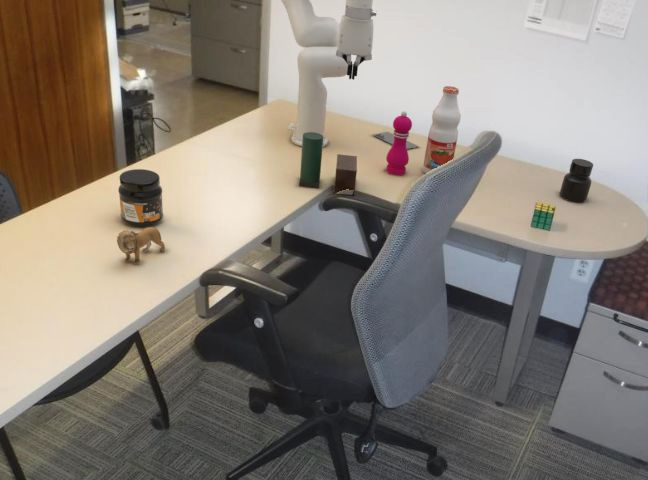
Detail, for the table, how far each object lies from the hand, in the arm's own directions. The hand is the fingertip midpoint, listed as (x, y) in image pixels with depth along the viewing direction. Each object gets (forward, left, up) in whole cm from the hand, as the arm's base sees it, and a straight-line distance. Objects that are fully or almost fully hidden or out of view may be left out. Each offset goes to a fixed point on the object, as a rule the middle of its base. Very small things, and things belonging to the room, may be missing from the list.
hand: (351, 78), depth 215 cm
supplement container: (-16, -69, -29) cm, 77 cm away
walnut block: (+8, -11, -29) cm, 32 cm away
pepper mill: (+13, +12, -29) cm, 34 cm away
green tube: (+3, -15, -28) cm, 32 cm away
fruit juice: (+23, +22, -29) cm, 43 cm away
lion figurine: (-1, -83, -29) cm, 88 cm away
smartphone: (-2, +37, -29) cm, 47 cm away
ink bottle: (+65, +39, -29) cm, 81 cm away
